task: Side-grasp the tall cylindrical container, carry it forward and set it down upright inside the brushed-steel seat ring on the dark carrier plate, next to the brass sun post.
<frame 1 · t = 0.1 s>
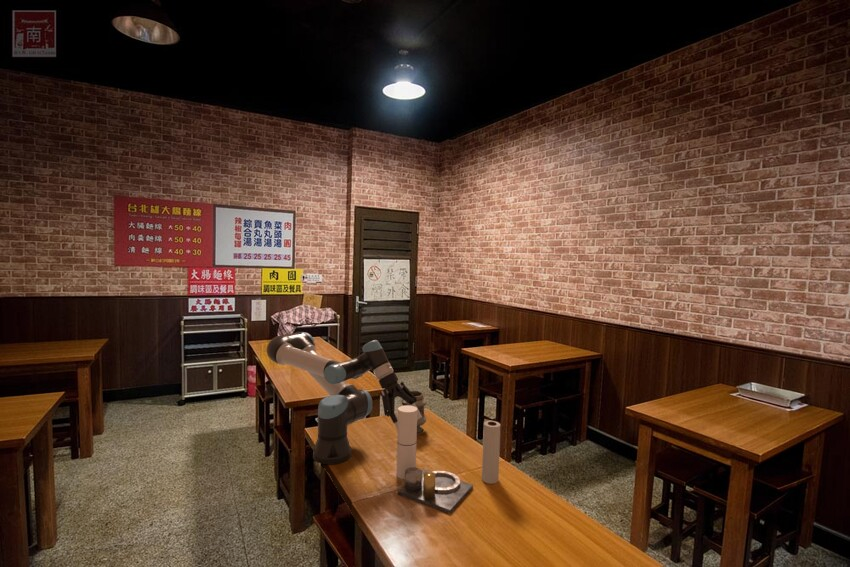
hand: (410, 424, 166), 15 cm above the table, tool tilted 35°, fingers open, 13 cm apart
carrier: (435, 491, 145), on the table
cylindrical container: (405, 474, 156), on the table
paper towel roll: (490, 479, 154), on the table
apothecary jar: (413, 431, 197), on the table
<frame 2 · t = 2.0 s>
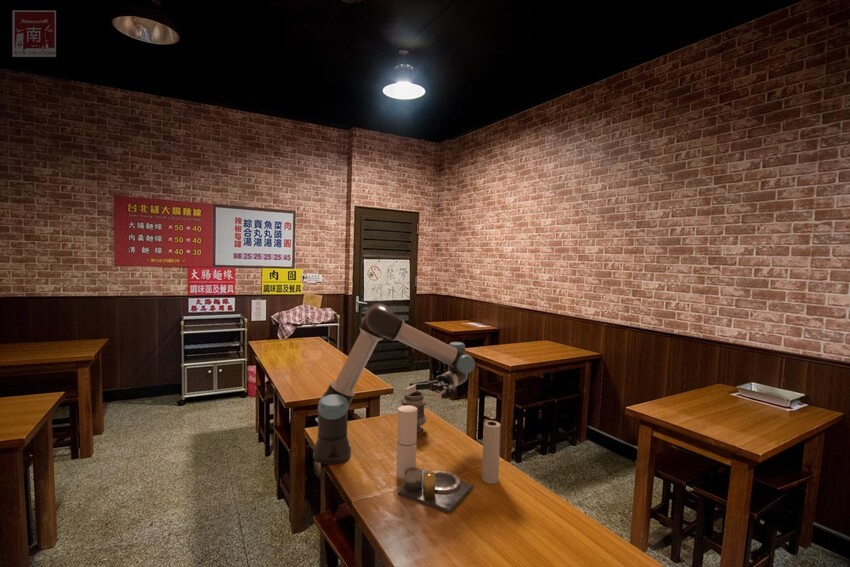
hand: (421, 395, 163), 28 cm above the table, tool horizontal, fingers open, 13 cm apart
nothing on the table moved.
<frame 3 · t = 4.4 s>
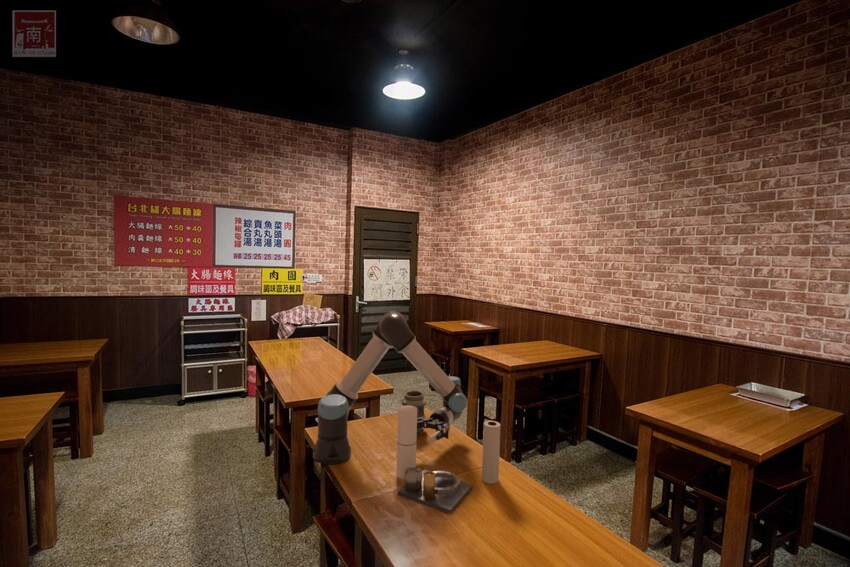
hand: (415, 436, 160), 13 cm above the table, tool horizontal, fingers open, 13 cm apart
nothing on the table moved.
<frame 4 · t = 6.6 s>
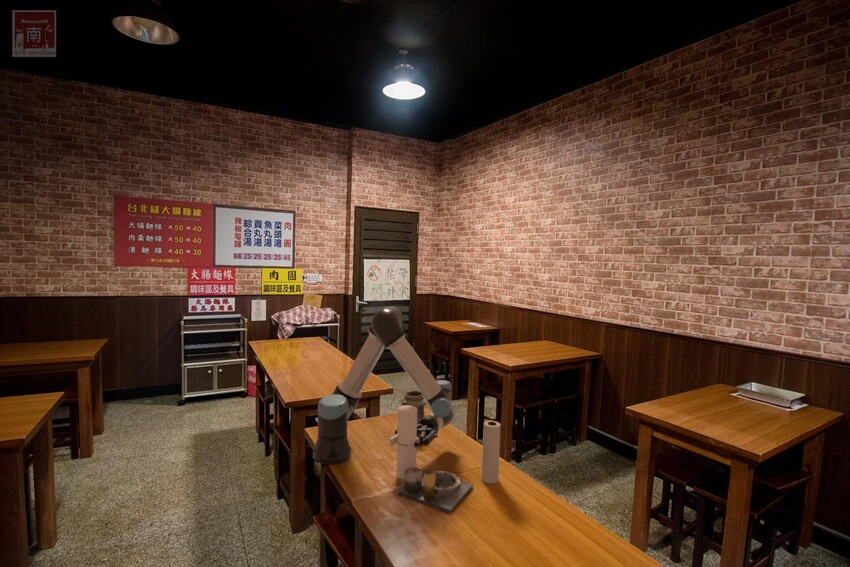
hand: (399, 445, 151), 13 cm above the table, tool horizontal, fingers closed on cylindrical container, 7 cm apart
cylindrical container: (405, 474, 156), on the table, touching gripper
everything else where it was.
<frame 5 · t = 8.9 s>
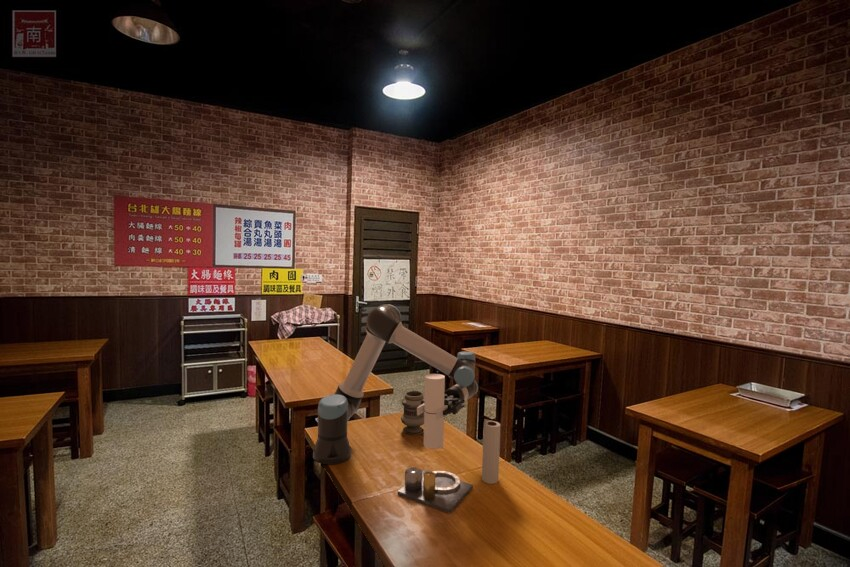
hand: (427, 413, 146), 27 cm above the table, tool horizontal, fingers closed on cylindrical container, 7 cm apart
cylindrical container: (433, 445, 151), point 14 cm above the table, touching gripper
everything else where it was.
when the fingers open (15 cm above the table, at t = 11.6 s): cylindrical container drops 1 cm, resting on carrier.
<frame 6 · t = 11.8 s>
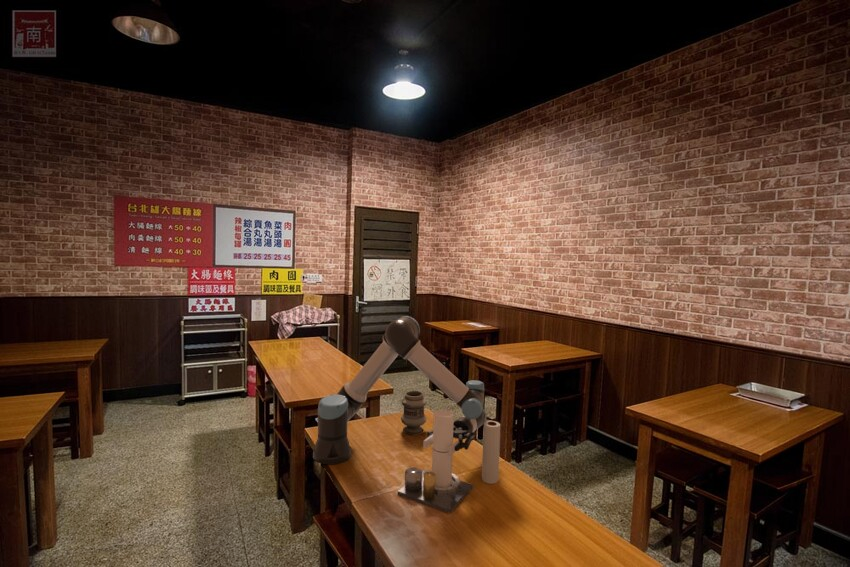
hand: (436, 448, 144), 15 cm above the table, tool horizontal, fingers open, 9 cm apart
cylindrical container: (441, 483, 149), point 1 cm above the table, touching carrier
everything else where it was.
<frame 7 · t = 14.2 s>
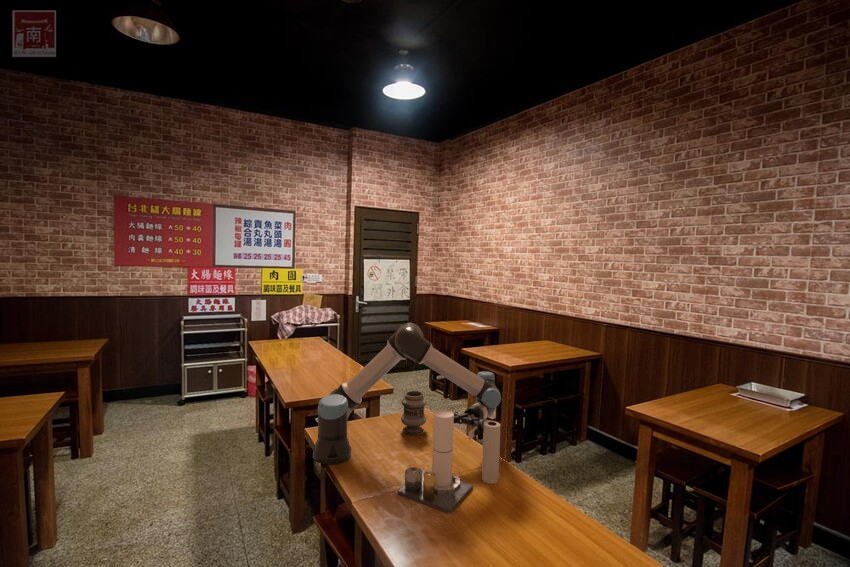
hand: (452, 431, 156), 17 cm above the table, tool horizontal, fingers open, 13 cm apart
nothing on the table moved.
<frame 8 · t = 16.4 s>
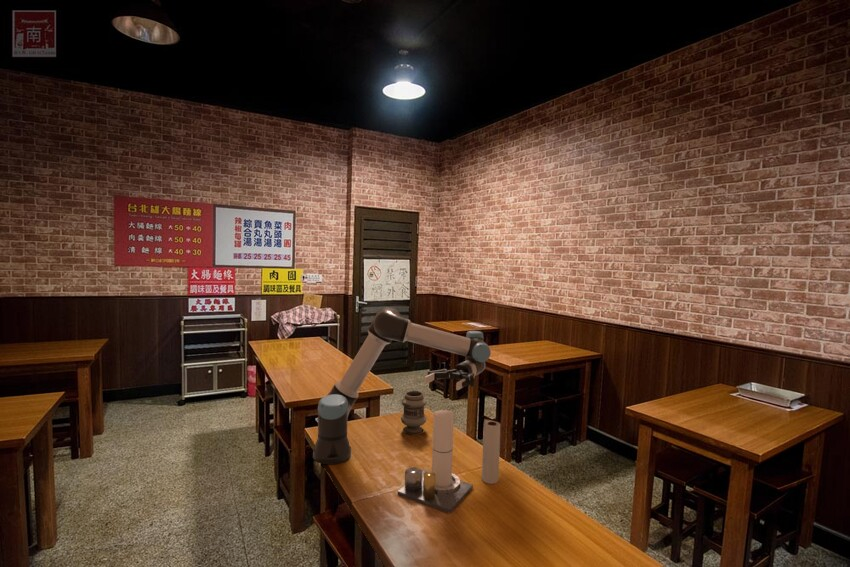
hand: (440, 383, 158), 34 cm above the table, tool horizontal, fingers open, 13 cm apart
nothing on the table moved.
at the end: cylindrical container 0.1 cm from the target spot on the carrier, point 1.0 cm above the carrier's base; cylindrical container tilted 0°; the gripper is holding nothing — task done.
